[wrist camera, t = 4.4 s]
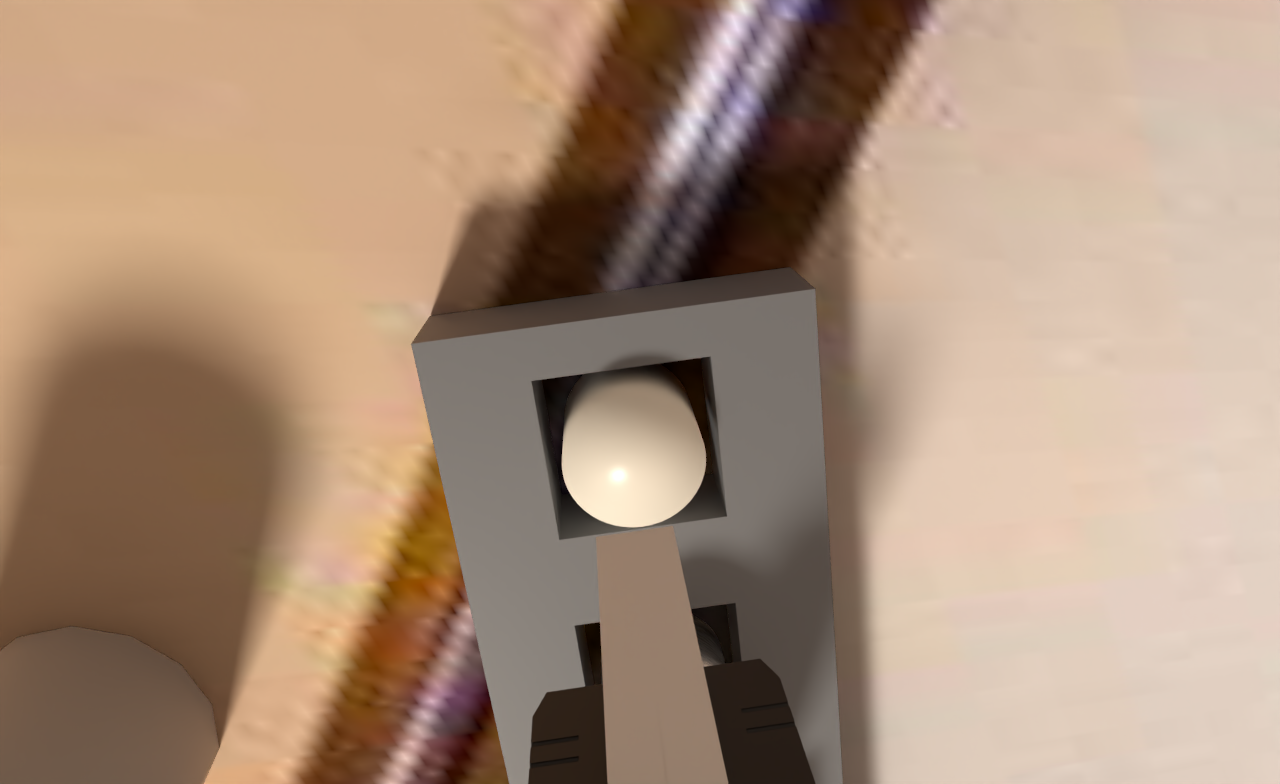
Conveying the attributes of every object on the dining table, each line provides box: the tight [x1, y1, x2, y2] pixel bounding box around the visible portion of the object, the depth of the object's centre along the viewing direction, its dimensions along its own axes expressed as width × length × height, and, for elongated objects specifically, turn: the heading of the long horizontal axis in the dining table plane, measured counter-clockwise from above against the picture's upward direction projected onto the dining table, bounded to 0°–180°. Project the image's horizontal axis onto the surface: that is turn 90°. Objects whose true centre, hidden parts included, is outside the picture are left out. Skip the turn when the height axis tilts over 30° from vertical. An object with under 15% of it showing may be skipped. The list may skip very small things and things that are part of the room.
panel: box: [411, 267, 843, 784], centre depth 28 cm, size 30×11×6 cm, turn 7°
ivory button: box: [562, 364, 706, 527], centre depth 26 cm, size 4×4×4 cm
